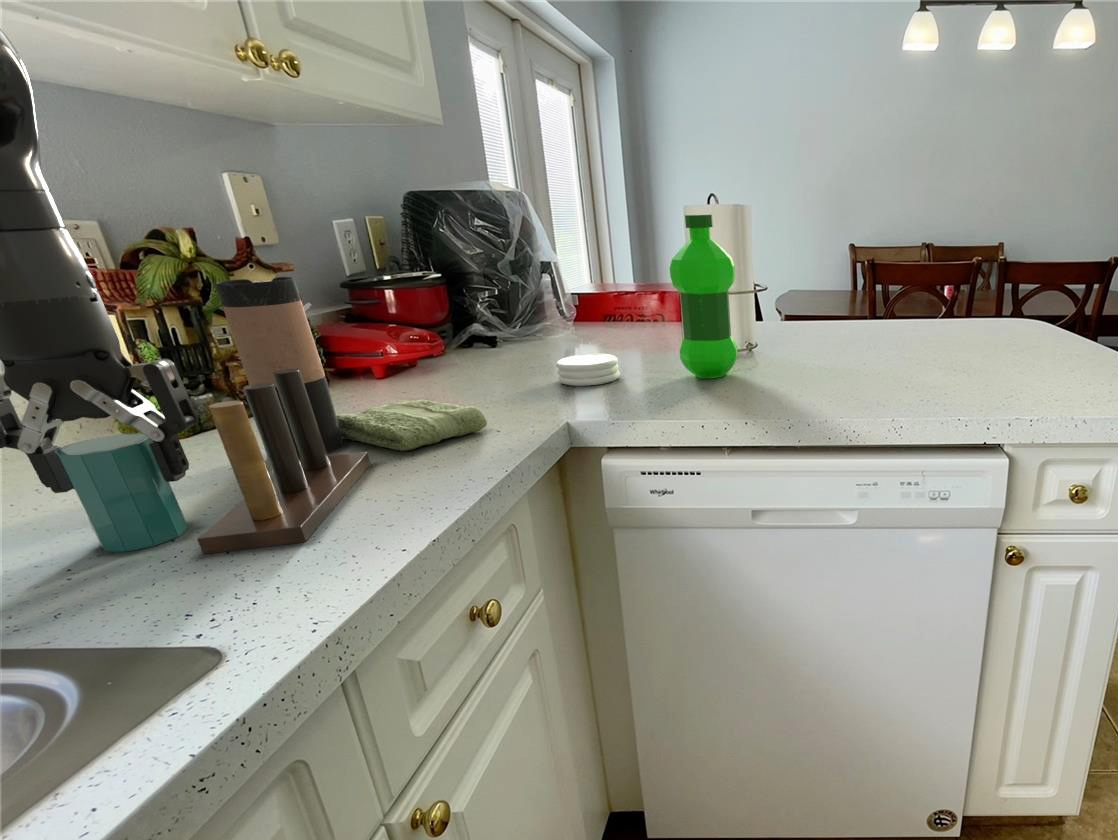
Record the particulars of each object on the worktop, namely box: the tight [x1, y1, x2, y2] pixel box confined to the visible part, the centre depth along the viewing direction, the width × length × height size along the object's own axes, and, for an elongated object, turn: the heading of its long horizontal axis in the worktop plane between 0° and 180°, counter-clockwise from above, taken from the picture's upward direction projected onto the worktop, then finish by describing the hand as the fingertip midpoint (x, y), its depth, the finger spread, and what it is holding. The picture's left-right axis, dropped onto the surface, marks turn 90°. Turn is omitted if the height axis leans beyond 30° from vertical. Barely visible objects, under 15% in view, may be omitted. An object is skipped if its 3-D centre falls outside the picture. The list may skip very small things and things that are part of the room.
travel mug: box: [214, 276, 344, 458], centre depth 85 cm, size 8×8×20 cm
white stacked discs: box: [555, 353, 621, 387], centre depth 119 cm, size 10×10×4 cm
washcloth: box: [336, 399, 488, 452], centre depth 93 cm, size 13×18×3 cm
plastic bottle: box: [669, 214, 739, 379], centre depth 116 cm, size 10×10×25 cm
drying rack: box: [196, 369, 372, 555], centre depth 70 cm, size 8×22×12 cm, turn 15°
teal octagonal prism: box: [55, 433, 189, 553], centre depth 64 cm, size 6×6×9 cm
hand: (122, 484), depth 63 cm, fingers open, 8 cm apart
